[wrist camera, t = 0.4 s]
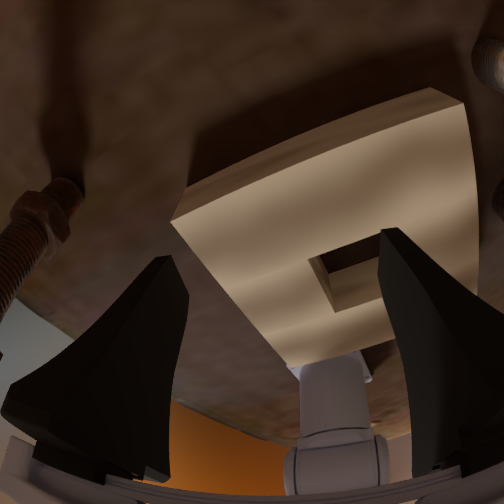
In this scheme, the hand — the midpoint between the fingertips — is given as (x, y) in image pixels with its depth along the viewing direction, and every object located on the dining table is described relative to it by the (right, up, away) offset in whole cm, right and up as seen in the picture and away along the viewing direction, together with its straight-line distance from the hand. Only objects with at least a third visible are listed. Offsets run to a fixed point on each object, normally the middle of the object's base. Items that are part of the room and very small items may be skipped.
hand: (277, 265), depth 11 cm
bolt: (-15, +5, +10) cm, 19 cm away
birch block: (+6, +2, +11) cm, 13 cm away
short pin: (+14, +13, +2) cm, 19 cm away
